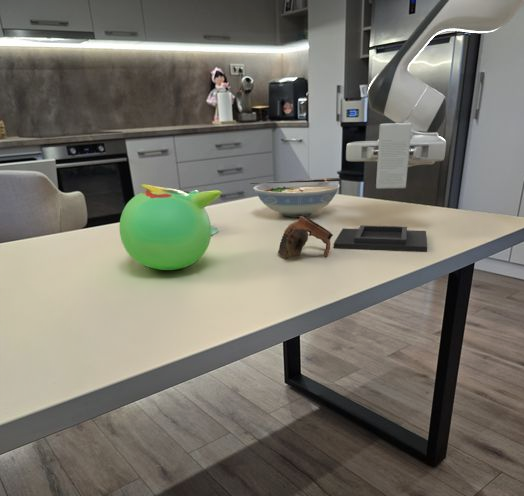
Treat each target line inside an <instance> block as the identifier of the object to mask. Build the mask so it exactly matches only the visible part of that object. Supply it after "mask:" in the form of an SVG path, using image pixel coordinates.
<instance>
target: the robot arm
mask: <svg viewBox="0 0 524 496" xmlns="http://www.w3.org/2000/svg"><path fill="white" fill-rule="evenodd" d="M523 5H524V0H439V1H438V2H436V4H435V5H433V8H431V10H430V11H429V12H428V13H427V15H426V16H425V17H424V18H423V20H421V22H420V23H419V25H417V27H416V28H415V29H414V31H413V32H412V33H411V34H410V35H409V37H408V38H407V39H406V41H404V43H403V44H402V46H401V47H400V48H399V49H398V51H397V52H396V53H395V54H394V56H393V57H392V58H391V59H390V60H389V61H388V63H387V64H386V65H384V67H382V68H381V69H380V70H379V71H378V72H377V73H376V74H375V76H374V77H373V78H372V80H371V82H370V84H369V86H368V89H367V92H366V96H367V102H368V105H369V107H370V109H371V111H374V112H375V113H377V114H379V115H381V116H384V117H386V118H388V119H389V120H391V121H392V122H393V123H411V124H412V125H411V135H410V147H409V158H408V168H410V167H417V166H427V165H434V164H435V163H437V162H443V161H444V160H445V156H446V151H447V149H446V148H447V140H446V139H445V138H443V137H442V136H439V133H438V131H439V129H440V127H441V126H442V124H443V122H444V120H445V119H446V116H447V113H448V102H447V97H446V95H444V94H443V93H441V92H439V91H438V90H437V89H435V88H433V87H432V86H431V85H429V84H427V83H425V82H423V81H422V80H420V79H419V78H417V77H416V76H414V75H413V74H412V73H410V71H409V67H410V65H412V64H413V62H414V61H415V60H416V59H417V57H418V56H419V55H420V54H421V53H422V51H423V50H424V49H425V48H426V46H427V45H428V44H429V43H430V41H432V40H433V38H434V37H435V36H437V35H439V34H440V33H443V32H447V31H459V32H465V33H474V34H475V33H476V34H484V33H491V32H495V31H497V30H499V29H501V28H503V27H505V26H506V25H507V24H508V23H509V22H510V21H511V20H512V19H513V18H514V16H515V15H516V14H517V13H518V11H519V10H520V9H521V8H522V6H523ZM378 146H379V138H378V139H377V140H360V141H359V140H358V141H351V142H348V143H347V144H346V149H345V160H346V161H347V162H378Z"/></svg>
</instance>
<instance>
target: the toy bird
mask: <svg viewBox="0 0 524 496" xmlns="http://www.w3.org/2000/svg"><path fill="white" fill-rule="evenodd" d="M140 187H142V188H143V189H145V191H142V192H140V193H137V194H136V195H135V196H133V197H132V198H131V199H129V201H127V202H126V204H125V206H124V207H123V210H122V212H121V214H120V219H119V236H120V239H121V243H122V245H123V247H124V249H125V251H126V253H128V255H129V256H130V257H131V258H132V259H133V260H135V262H137V263H139V264H141V265H142V266H145V267H148V268H151V269H154V270H159V271H176V270H180V269H181V270H182V269H184V268H187V267H190V266H192V265H194V264H195V263H197V262H198V261H199V260H200V259H201V258H202V257H203V256H204V254H205V253H206V252H207V250H208V248H209V245H210V243H211V239H212V235H211V225H212V224H211V220H210V216H209V214H208V212H207V210H206V207H207V206H208V205H210V204H212V202H214V201H216V200H217V199H218V198H219V197H221V195H222V191H221V190H208V191H202V192H200V191H199V190H197V189H195V190H192V191H189V192H190V193H188V194H187V193H185V192H182V191H183V190H179V189H174V188H170V187H160V186H156V185H151V184H145V183H142V184H140Z"/></svg>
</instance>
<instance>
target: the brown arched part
mask: <svg viewBox="0 0 524 496" xmlns="http://www.w3.org/2000/svg"><path fill="white" fill-rule="evenodd" d="M333 236H334V235H333V233H332V232H331V231H329V230H328V229H326V228H325V227H323V226H322V225H320V224H319V223H317V222H315V221H313V219H310V218H308V217H307V216H300V217H299V218H298V220H296V221H294V222H291V223H290V224H288V226H287V227H286V229H285V230H284V232H283V234H282V236H281V239H280V242H279V248H278V251H277V254H278V255H279V256H280V257H282V258H283V259H284V260H286V259H288V254H289V255H290V257H295V258H297V257H300V256H301V253H302V251H303V248H304V247H305V245H306V243H307V242H308V240H309V237H315V238H316V239H318V240H321V241H322V243H324V244H325V249H324V252H323V255H324V257H328V255H329V253H330V250H331V239H332V237H333Z"/></svg>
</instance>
